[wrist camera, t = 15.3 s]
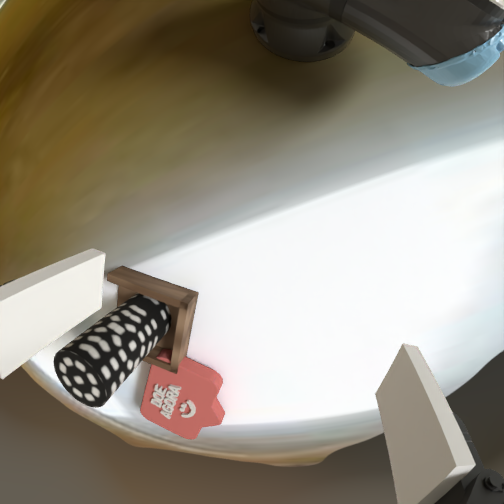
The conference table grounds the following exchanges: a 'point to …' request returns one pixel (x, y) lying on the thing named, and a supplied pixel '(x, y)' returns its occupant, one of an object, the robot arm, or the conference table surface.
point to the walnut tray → (175, 299)
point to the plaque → (182, 397)
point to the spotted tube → (111, 349)
